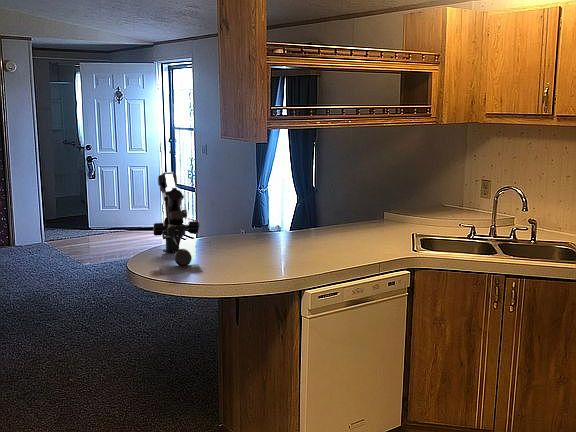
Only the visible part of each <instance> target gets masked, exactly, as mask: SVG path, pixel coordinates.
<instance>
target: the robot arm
mask: <svg viewBox="0 0 576 432" xmlns="http://www.w3.org/2000/svg"><path fill="white" fill-rule="evenodd" d="M177 179H178V178H177V175H176V174H175V172H173V171H165V172H162V174H160V175H158V178H157V184H158V186H159V190H160V192H162V195H163V201H164V207H165V218H164V220H163V222H155V223H154V224H153V226H152V229H153V230H152V231H153V236H156V237H157V236H162V240H165V249H162V251H163V252H165V253H168V254H172V253H174V254H175V253H176V251H178V250H179V249H180V244H181V240H182V239H183V237H184V236H185V235H186V231H187V230H188V233H190V234H198V233H199V229H200V223H199V221H197V220H191V221H188V224H184V219H187V218H188V210H187V209H182V208H181V206H182V201H183V199H184V198H185V197H184V194H183V192H182V191H181V190H180V187H177V186H176V185H177V184H178V181H177Z"/></svg>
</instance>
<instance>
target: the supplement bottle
mask: <svg viewBox="0 0 576 432" xmlns="http://www.w3.org/2000/svg"><path fill="white" fill-rule="evenodd" d="M173 257H174V261H175V263H176V264H177V266H182V267H184V266H187V265H191V262H192V259H193V258H192V254H191V252H190V251H189V250H188V249H186V248H179V250H178V251H176V252H174V256H173Z"/></svg>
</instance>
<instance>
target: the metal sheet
mask: <svg viewBox="0 0 576 432" xmlns="http://www.w3.org/2000/svg"><path fill="white" fill-rule="evenodd" d="M159 271H160V274H161V275H172V274H173V275H174V274H175V273H176V274H185V272H190V273H202V272H203V269H202V268H201V266H200V265H199V264H197V263H196V264H189V265H187V266H184V267H182V266H179V265H170V266H169V265H168V266H167V265H166V266H159Z"/></svg>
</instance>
